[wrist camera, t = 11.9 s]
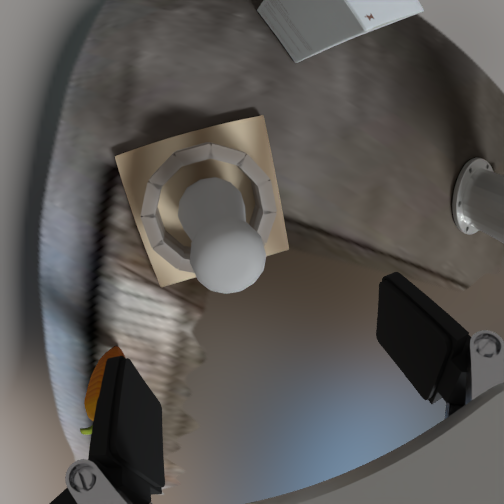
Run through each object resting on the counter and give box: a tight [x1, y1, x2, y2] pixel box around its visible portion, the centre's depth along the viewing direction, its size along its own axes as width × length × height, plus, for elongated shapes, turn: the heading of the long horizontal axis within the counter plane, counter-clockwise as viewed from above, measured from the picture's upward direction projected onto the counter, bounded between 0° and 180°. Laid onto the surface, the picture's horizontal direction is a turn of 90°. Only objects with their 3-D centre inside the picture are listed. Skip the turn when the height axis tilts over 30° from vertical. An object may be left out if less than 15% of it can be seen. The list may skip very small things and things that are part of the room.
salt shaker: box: [178, 177, 266, 294], centre depth 21 cm, size 6×6×13 cm
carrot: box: [80, 346, 125, 448], centre depth 26 cm, size 5×5×15 cm
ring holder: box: [115, 115, 289, 287], centre depth 26 cm, size 14×14×4 cm
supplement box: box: [257, 0, 424, 63], centre depth 17 cm, size 7×7×13 cm
